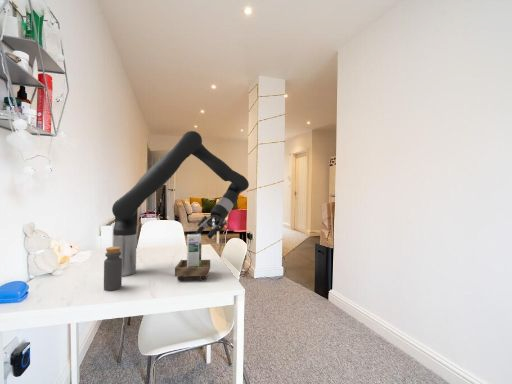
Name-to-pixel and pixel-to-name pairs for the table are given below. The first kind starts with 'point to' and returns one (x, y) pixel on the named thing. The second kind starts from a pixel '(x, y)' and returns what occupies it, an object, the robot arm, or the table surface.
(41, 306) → the table surface
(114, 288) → the bottle
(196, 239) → the syrup box
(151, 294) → the table surface
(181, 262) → the wooden toy cart
